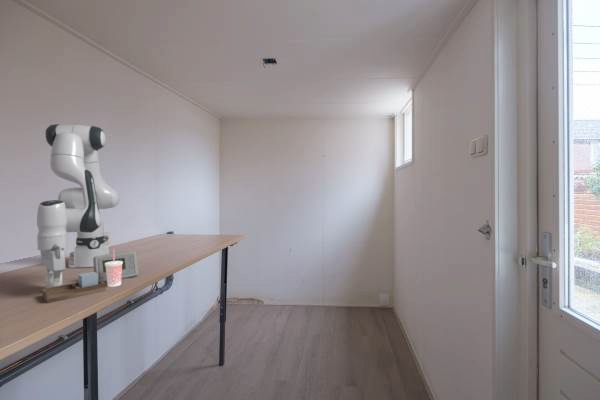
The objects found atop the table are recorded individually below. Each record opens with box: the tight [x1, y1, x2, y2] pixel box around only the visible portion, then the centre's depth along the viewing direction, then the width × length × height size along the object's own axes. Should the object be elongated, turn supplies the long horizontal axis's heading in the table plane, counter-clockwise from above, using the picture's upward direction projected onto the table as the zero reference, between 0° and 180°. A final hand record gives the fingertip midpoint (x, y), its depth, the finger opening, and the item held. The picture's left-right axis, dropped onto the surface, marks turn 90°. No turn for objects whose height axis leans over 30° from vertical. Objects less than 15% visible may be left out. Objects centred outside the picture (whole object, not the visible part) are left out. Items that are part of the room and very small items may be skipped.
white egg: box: [44, 271, 64, 289], centre depth 116 cm, size 5×5×6 cm
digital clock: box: [93, 251, 139, 283], centre depth 130 cm, size 16×9×11 cm, turn 121°
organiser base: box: [41, 279, 107, 304], centre depth 111 cm, size 9×17×3 cm, turn 138°
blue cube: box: [77, 271, 98, 288], centre depth 114 cm, size 5×5×5 cm
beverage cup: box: [105, 249, 123, 288], centre depth 121 cm, size 6×6×14 cm
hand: (53, 280), depth 115 cm, fingers open, 8 cm apart
